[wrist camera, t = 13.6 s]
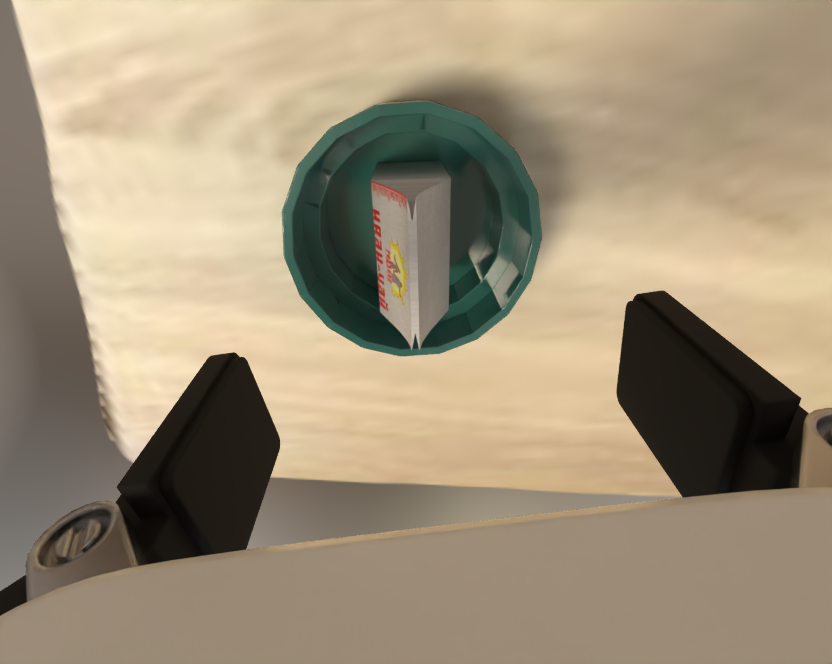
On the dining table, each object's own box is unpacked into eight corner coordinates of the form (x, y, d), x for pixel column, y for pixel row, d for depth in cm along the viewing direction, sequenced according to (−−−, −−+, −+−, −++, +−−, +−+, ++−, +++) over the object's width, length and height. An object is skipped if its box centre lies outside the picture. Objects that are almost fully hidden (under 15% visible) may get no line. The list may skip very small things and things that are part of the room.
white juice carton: (440, 161, 25) (461, 196, 16) (439, 270, 28) (457, 348, 19) (377, 163, 25) (364, 198, 16) (383, 272, 28) (376, 351, 19)
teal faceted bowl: (263, 162, 25) (226, 180, 20) (473, 56, 23) (494, 44, 18) (364, 337, 31) (356, 386, 26) (538, 266, 29) (569, 303, 23)
